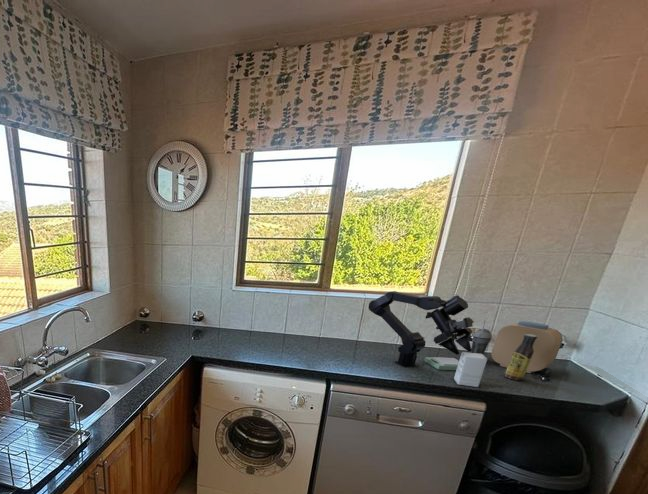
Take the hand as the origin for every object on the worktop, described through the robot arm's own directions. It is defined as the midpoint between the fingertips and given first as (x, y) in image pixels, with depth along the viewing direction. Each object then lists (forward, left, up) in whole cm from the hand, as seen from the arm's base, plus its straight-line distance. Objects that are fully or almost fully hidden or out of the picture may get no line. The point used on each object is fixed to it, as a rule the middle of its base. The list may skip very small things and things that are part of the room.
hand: (464, 352), depth 170 cm
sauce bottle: (+27, +1, -13) cm, 30 cm away
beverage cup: (+31, +26, -13) cm, 42 cm away
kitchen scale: (+9, +18, -12) cm, 24 cm away
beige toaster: (+41, +13, -13) cm, 45 cm away
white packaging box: (+1, -3, -13) cm, 13 cm away
